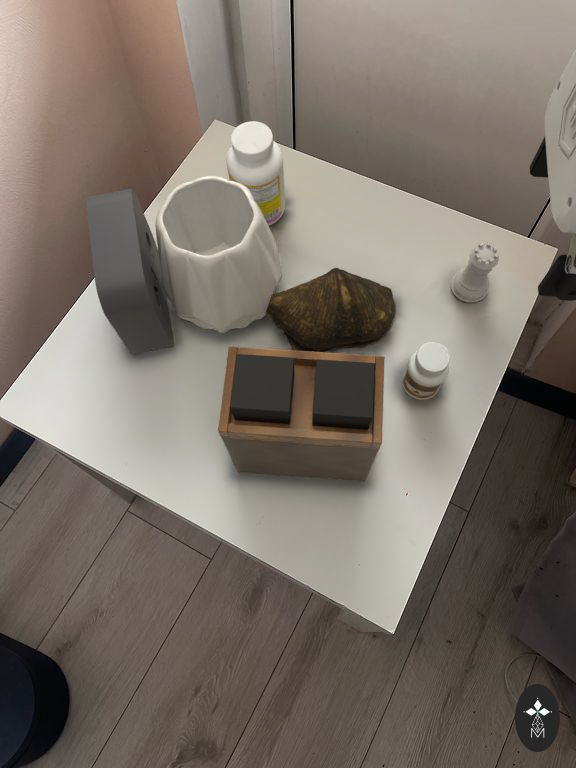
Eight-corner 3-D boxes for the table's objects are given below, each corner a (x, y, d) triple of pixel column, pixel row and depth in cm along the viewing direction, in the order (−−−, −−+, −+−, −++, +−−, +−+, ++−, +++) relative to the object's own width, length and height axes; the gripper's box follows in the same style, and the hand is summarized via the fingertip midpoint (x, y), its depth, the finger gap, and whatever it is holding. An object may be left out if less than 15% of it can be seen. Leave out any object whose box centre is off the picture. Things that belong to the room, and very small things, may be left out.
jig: (367, 411, 70) (384, 356, 55) (365, 481, 67) (382, 443, 52) (245, 403, 70) (228, 345, 56) (237, 472, 68) (217, 431, 53)
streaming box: (80, 185, 64) (128, 176, 64) (119, 260, 78) (159, 252, 78) (93, 305, 59) (146, 294, 59) (133, 362, 73) (176, 354, 73)
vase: (256, 358, 72) (244, 295, 58) (150, 319, 74) (113, 250, 60) (300, 262, 77) (298, 182, 63) (198, 228, 79) (174, 143, 65)
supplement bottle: (245, 182, 82) (235, 107, 70) (292, 195, 81) (290, 121, 69) (227, 221, 79) (213, 151, 67) (275, 235, 78) (269, 167, 66)
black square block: (370, 377, 56) (374, 362, 52) (368, 430, 54) (372, 418, 51) (315, 373, 56) (316, 358, 53) (312, 426, 54) (312, 413, 51)
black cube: (240, 368, 56) (236, 353, 53) (294, 372, 56) (294, 357, 53) (234, 420, 55) (230, 407, 51) (290, 424, 54) (289, 412, 51)
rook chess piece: (493, 283, 75) (514, 246, 68) (476, 310, 74) (496, 276, 66) (460, 266, 76) (477, 228, 69) (443, 293, 75) (459, 257, 67)
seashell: (389, 274, 75) (400, 254, 68) (400, 345, 74) (413, 332, 67) (257, 290, 75) (255, 272, 68) (266, 362, 74) (265, 351, 67)
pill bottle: (396, 393, 70) (406, 367, 63) (408, 360, 72) (419, 331, 65) (433, 406, 70) (448, 382, 62) (444, 373, 71) (460, 345, 64)
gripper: (598, -133, 29) (495, 130, 45) (642, 154, 23) (505, 341, 39) (760, -130, 29) (599, 135, 45) (846, 163, 23) (624, 349, 39)
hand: (555, 231), depth 42 cm, fingers open, 9 cm apart
